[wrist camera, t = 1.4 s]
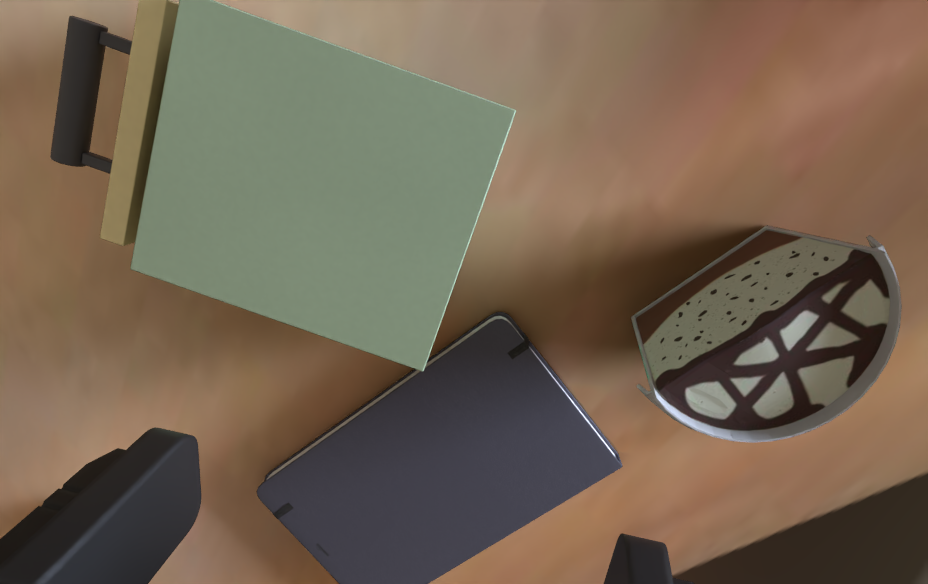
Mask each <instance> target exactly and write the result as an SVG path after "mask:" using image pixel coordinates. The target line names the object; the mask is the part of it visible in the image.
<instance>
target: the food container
mask: <svg viewBox="0 0 928 584" xmlns="http://www.w3.org/2000/svg"><path fill="white" fill-rule="evenodd" d="M866 238H867V240H868V242H869V243H870V245H871V247H867V246H862V245H858V244H853V243H848V242H843V241H839V240H834V239H829V238H825V237H820V236H815V235H810V234H806V233H801V232H796V231H792V230H787V229H782V228H778V227H773V226H768V225H766V226H765V227H763V228H762V229H761V230H759V231H758V232H756V233H755V234H753V235H752V236H750V237H749V238H747V239H746V240H744V241H743V242H741V243H740V244H738V245H737V246H735V247H734V248H732V249H731V250H729V251H728V252H726V253H725V254H724V255H722V256H721V257H719V258H718V259H716V260H715V261H713V262H712V263H710V264H709V265H707V266H706V267H704V268H703V269H701V270H700V271H698V272H697V273H695V274H694V275H692V276H691V277H689V278H688V279H686V280H685V281H684V282H682V283H681V284H679V285H678V286H676V287H675V288H673V289H672V290H670V291H669V292H667V293H666V294H664V295H663V296H661V297H660V298H658V299H657V300H655V301H654V302H652V303H651V304H649V305H648V306H647V307H645V308H644V309H642V310H641V311H639V312H638V313H636V314H635V315H633V316H632V317H631V320H632V324H633V327H634V331H635V335H636V338H637V342H638V345H639V349H640V353H641V356H642V360H643V364H644V367H645V371H646V374H647V378H648V382H649V385H650V389H651V391H649V392H648V391H647V390H646V389H645V388H643V387H642V386H641V385H640V384H638V385H637V387H638V388H639V389H640V391H641V392H642V393H643V394H644V395H645V396H646V397H647V398H648V399H649V400H650V401H651V402H653V403H654V404H655V405H656V406H657V407H658V408H660V409H661V410H662V411H663V412H665V413H666V414H667V415H669V416H670V417H671V418H672V419H674V420H676V421H677V422H679V423H681V424H683V425H684V426H686V427H688V428H690V429H693V430H695V431H698V432H701V433H703V434H706V435H709V436H713V437H716V438H721V439H726V440H730V441H739V442H767V441H776V440H780V439H785V438H790V437H794V436H797V435H800V434H803V433H806V432H809V431H812V430H814V429H816V428H818V427H820V426H822V425H824V424H826V423H828V422H830V421H832V420H833V419H835V418H836V417H837V416H839V415H840V414H842V413H843V412H845V411H846V410H848V409H849V408H850V407H851V406H852V405H853V404H855V403H856V402H857V401H858V400H859V399H860V398H861V397H863V395H864V394H865V393H866V392H867V391H868V390H869V388H870V387H871V386H872V385H873V384H874V383H875V381H876V380H877V379H878V377H879V375H880V374H881V372H882V371H883V369H884V368H885V366H886V364H887V363H888V360H889V358H890V356H891V353H892V351H893V349H894V346H895V344H896V340H897V336H898V332H899V328H900V320H901V307H902V306H901V296H900V287H899V283H898V280H897V276H896V273H895V269H894V267H893V265H892V263H891V261H890V259H889V257H888V255H887V253H886V251H885V249H884V247H883V245H882V244H880V243H879V242H878V241H877V240H875V239H874V238H873V237H871V236H868V237H866Z"/></svg>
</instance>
